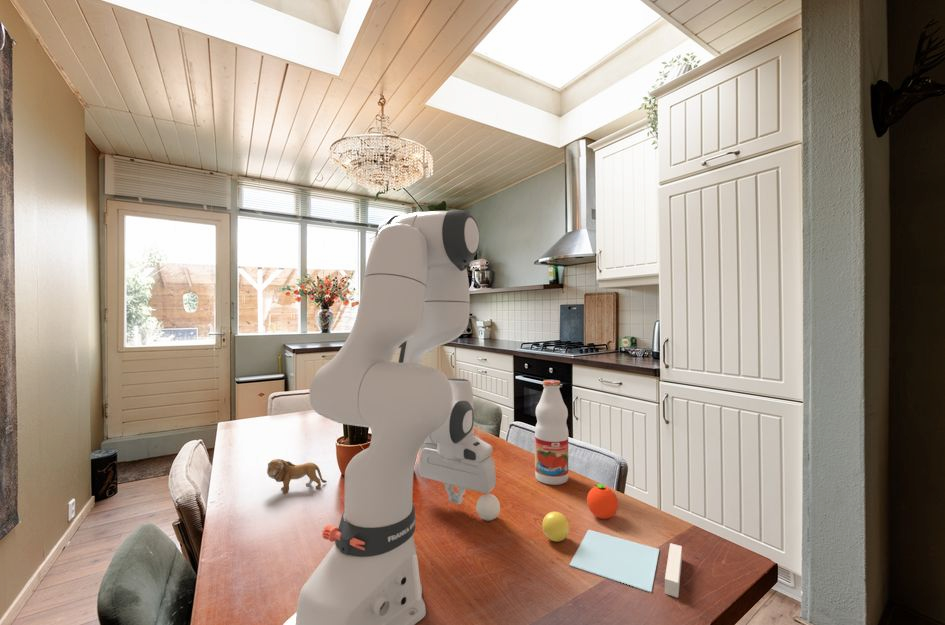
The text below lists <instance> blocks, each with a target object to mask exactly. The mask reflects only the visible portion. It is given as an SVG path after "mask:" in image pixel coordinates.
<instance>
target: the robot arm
mask: <svg viewBox="0 0 945 625" xmlns="http://www.w3.org/2000/svg"><path fill="white" fill-rule="evenodd" d="M479 246H480V230H479V226H478V223H477V220H476V219H475V218H474V216H473V215H472V214H471V212H468V211H466V210H463V209H462V210H461V209H453V208H452V209H449V210H433V211H430V210H429V211H424V210H422V211H421V210H420V211H416V212H410V213H406V214H402V215H392V216H390V217H388V218H385V219H383V221H381V222H380V224H378V227H377V229H376V232H375V236H374V241H373V244H372V246H371V249H370V252H369V255H368V258H367V262H366V267H365V272H364V277H363V282H362V283H363V284H362V289H361V294H360V298H359V303H358V309H357V314H356V317H355V320H354V323H353V326H352V329H351V330H350V333H349V334H348V335H347V338H346V340H345V342H344V343H343V345H342V346H341V347H340V349H339V351H337V353H336V354H335V355H334V357H332V358H331V359H330V360H329V361H328V362H326V363H325V364H324V365H322V366H321V367H320V368H319V369H318V370H317V371H316V372H315V374H314V375H313V378H312V379H311V382H310V384H309V385H310V386H309V390H308V392H309V395H308V396H309V403H310V405H311V407H312V410H313V411H314V412H315V413H316V414H317V415H319V416H321V417H323V418H326V419H329V420H330V421H332V422H334V423H338V424H341V425H348V426H349V425H350V426H356V427H364V428H369V429H370V430H371V437H370V438H371V439H370V444H369V446H368V447H367V448H365V449H363V450H361V451H360V452H358V453H357V454H355V455H354V456H353V457H352V458H351V460H350V461H349V463H348V464H347V465H346V468H345V471H344V511H343V512H342V514H341V518H340V521H339V524H338V527H335V526H334V525H332V524H328V525H327V524H326V525H325V526H324V528H323V530H322V532H321V537H322V538H323V539H324V540H328V541H329V542H331V543H333V542H334V544H333V545H332V546H331V548H330V549H329V551H328V552H327V553H326V555H325V556H324V557H323V559H322V560H321V562H320V563H319V564H318V566H317V568H315V570H314V571H313V572H312V574H311V575H310V576H309V578H308V580H307V581H306V582H305V583H304V584H303V586H302V587H301V590H300V593H299V595H298V599H297V604H296V611H295V612H294V614H293V615H291V617H289V618H288V619H287V620H286V621H285V622H284V623H283V624H282V625H416V624H417V623H418V622H420V621H421V620H422V619H424V618H425V616H426V613H427V611H426V603H425V602H424V599H423V597H422V596H423V586H422V582H421V579H420V570H419V560H418V554H417V549H416V545H415V538H414V533H415V531H416V520H417V518H416V509H415V505H414V503H413V492H414V491H413V488H414V487H413V486H414V474H415V473H414V472H415V471H414V470H415V465H416V464H415V463H416V460H417V456H418V453H419V451H420V455H419V463H418V473H419V475H420V477H422V478H426V479H429V480H433V481H437V482H440V483H444V489H445V491H446V493H447V495H448V502H450V503H454V504H456V505H457V504H459V505H460V504H462V503H463V497H464V496H463V495H464V494H465V492H466V490H471V491H475V492H478V493H482V494H489V493H490V492H491V491H492V490H493V489H494V488H495V486H496V481H497V480H496V479H497V478H496V466H495V461H494V459H493V457H492V456H491V455H492V454H493V445H491V444H489V443H488V442H486V441H485V440H483V439H481V438H479V437H477V436H476V435H474V434H475V432H474V419H475V418H474V417H475V416H474V414H475V410H474V409H475V406H474V405H475V403H474V393H473V386H472V382H471V381H470V380H468V379H466V378H452V377H451V378H449V377H447V376H446V374H445V373H444V372H443V370H440V369H436V368H433V367H430V366H427V365H422V364H421V361H422V358H423V357H424V356H425V355H426V354H427V353H428V352H429V351H431V350H434V349H435V348H437V347H440V346H443V345H445V344H448V343H451V342H453V341H455V340H456V339H458V338H459V337H460V336H461V335H463V333H464V332H465V331H466V329H468V328H467V327H468V326H469V321H470V311H471V310H470V308H471V307H470V306H471V303H470V301H471V299H470V298H471V296H470V294H471V293H470V282H469V277H468V275H469V273H468V270H467V268H468V266H469V264H470V263H471V262H473V260H474V259H475V257H476V255H477V252H478V251H479ZM399 348H400V353H399V356H398V362H396V361H395V362H393V361H392V359H393V358H394V355H395V353H396V351H397V350H398V349H399ZM453 486H455V487H456V488H457V489H456V490H457V491H458V492H456V491H455V489H454V487H453Z"/></svg>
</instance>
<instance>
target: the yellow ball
mask: <svg viewBox="0 0 945 625" xmlns="http://www.w3.org/2000/svg"><path fill="white" fill-rule="evenodd" d="M541 528H542V530H543V533H544V535H545V536H546V537H547V538H548V539H549V540H551V541H552V542H561V541H564V540H565V539H566V538H567V537H568V535H569V532H570V523H569V520H568V519H567V517H566V516H565V515H564V514H563V513H561V512H560V511H550V512H548V513H546V515H545V516H544V518H543V520H542V524H541Z"/></svg>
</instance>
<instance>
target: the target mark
mask: <svg viewBox="0 0 945 625" xmlns="http://www.w3.org/2000/svg"><path fill="white" fill-rule="evenodd" d="M659 553H660V548H657V547H653V546H650V545H646V544H643V543H640V542H639V543H638V542H635V541H631V540H627V539H625V538H621V537H616V536H613V535H611V534H610V535H609V534H606V533H603V532H599V531H595V530H592V529H588V530H587V531H586V533H585V535H584V536H583V539H582V540H581V542H580V544H579V546H578V548H577V549H576V551H575V553H574V555H573V557H572V558H571V561H570V563H569V565H568V566H569V567H572V568H575V569H578V570H581V571H583V572H588V573H590V574H593V575H596V576H599V577H602V578H605V579H607V580H611V581H614V582H616V583H620V582H621V583H620V584H623V583H624V584H623V585H626V584H627V585H626V586H629V585H630V586H629V587H632V586H633V587H632V588H635V589H638V590H641V591H643V592H647V593H652V592H653V586H654V580H655V575H656V569H657V565H658V559H659Z"/></svg>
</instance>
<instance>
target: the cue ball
mask: <svg viewBox="0 0 945 625" xmlns="http://www.w3.org/2000/svg"><path fill="white" fill-rule="evenodd" d="M475 508H476V512H477V515H478V516H479V518H481V519H482V520H484V521H487V522H488V521H489V522H490V521H493V520H495V519H496V518H497V517H498V516H499V514H500V512H501V503H500V500H499V499H498V498H497V497H496V496H495V495H494V494H491V493H487V494H485V493H483V495H481V496H480V497H479V498H478V499H477V502H476V506H475Z"/></svg>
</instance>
